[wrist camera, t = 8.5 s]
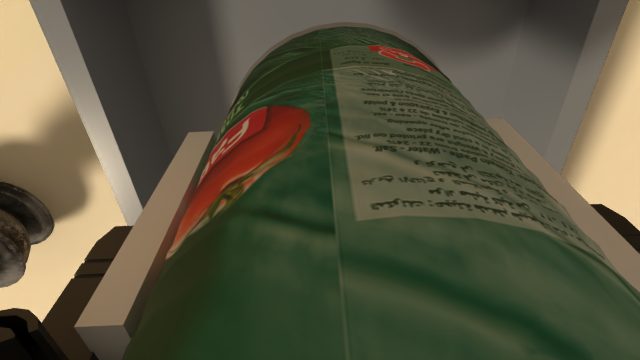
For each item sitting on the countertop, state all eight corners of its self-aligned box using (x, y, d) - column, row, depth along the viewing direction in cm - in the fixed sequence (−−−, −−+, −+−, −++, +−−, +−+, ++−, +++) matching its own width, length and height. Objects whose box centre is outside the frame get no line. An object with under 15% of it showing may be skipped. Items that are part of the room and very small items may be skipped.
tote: (92, -60, 16) (5, -53, 11) (560, -82, 16) (661, -84, 11) (203, 284, 28) (183, 352, 24) (466, 272, 28) (496, 338, 24)
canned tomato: (194, 48, 11) (-265, 535, 2) (456, -4, 11) (1278, 387, 2) (264, 237, 16) (200, 659, 7) (452, 208, 15) (667, 633, 6)
